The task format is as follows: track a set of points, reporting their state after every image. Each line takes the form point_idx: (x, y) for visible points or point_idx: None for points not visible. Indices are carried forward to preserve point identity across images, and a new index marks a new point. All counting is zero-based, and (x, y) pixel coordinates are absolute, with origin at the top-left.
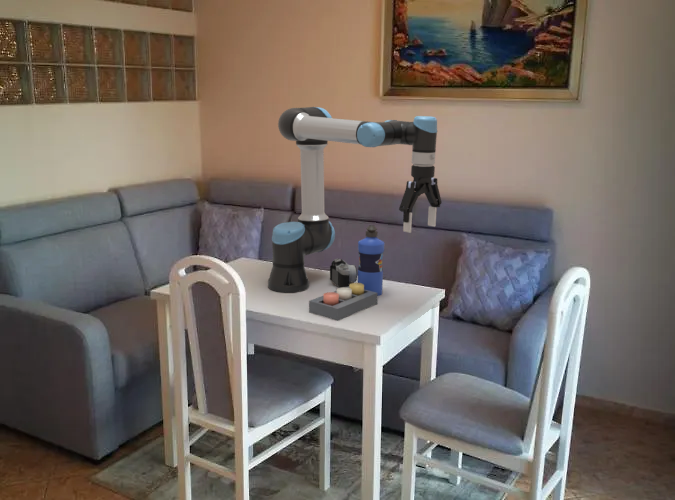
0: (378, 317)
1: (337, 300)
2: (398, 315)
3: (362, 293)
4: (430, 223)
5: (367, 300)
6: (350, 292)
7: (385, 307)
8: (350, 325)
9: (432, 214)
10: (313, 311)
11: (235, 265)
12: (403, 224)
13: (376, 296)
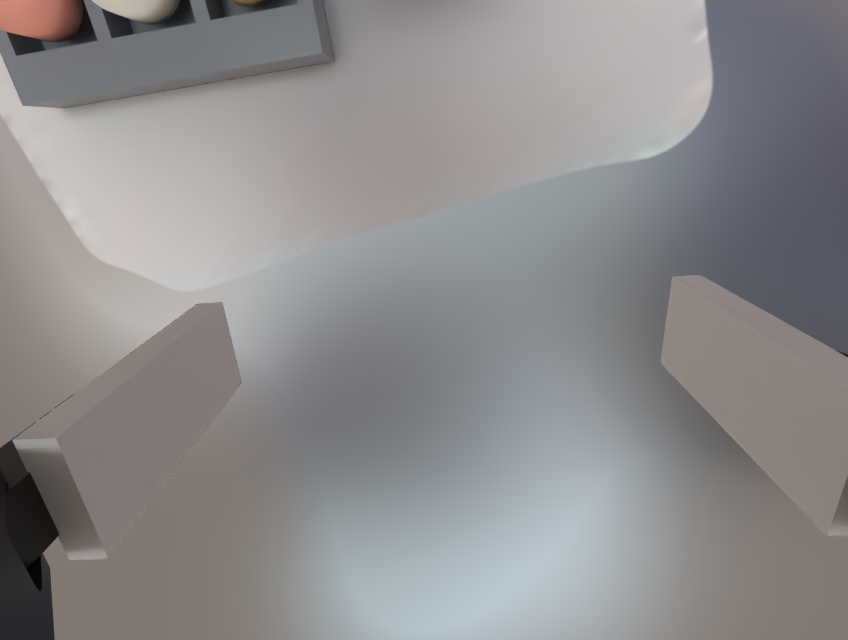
0: (231, 191)
1: (46, 36)
2: (310, 226)
3: (251, 3)
4: (680, 325)
5: (247, 69)
6: (135, 14)
7: (332, 123)
8: (87, 182)
9: (749, 408)
10: None
11: None
12: (153, 336)
13: (318, 56)
